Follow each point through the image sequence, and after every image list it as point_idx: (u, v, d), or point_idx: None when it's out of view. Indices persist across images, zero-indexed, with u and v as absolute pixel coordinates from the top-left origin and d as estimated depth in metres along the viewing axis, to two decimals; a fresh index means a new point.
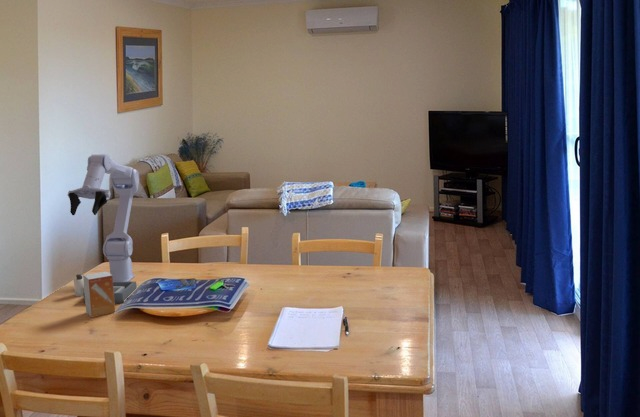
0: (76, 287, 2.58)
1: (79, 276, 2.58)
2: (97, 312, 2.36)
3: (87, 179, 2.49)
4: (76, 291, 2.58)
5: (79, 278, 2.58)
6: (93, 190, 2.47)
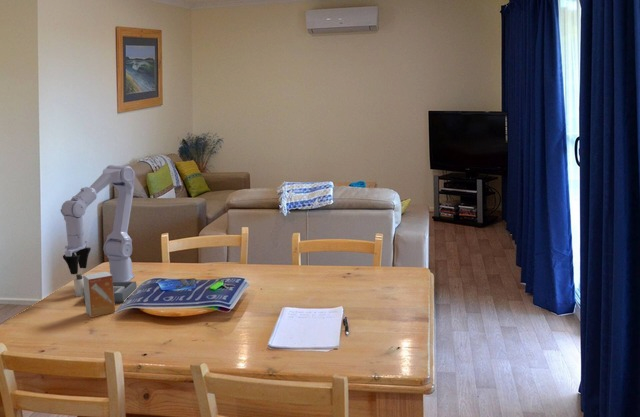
0: (76, 287, 2.58)
1: (79, 276, 2.58)
2: (97, 312, 2.36)
3: None
4: (76, 291, 2.58)
5: (79, 278, 2.58)
6: None
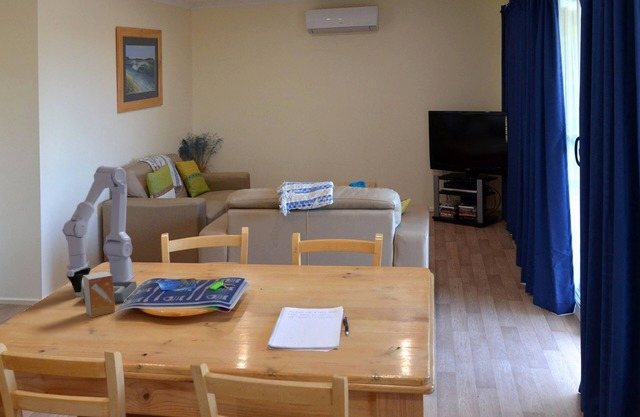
0: None
1: None
2: (97, 312, 2.36)
3: None
4: None
5: None
6: None
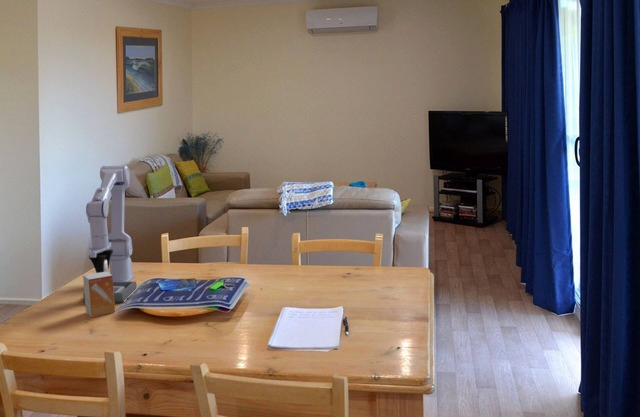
0: None
1: None
2: (97, 312, 2.36)
3: None
4: None
5: None
6: None
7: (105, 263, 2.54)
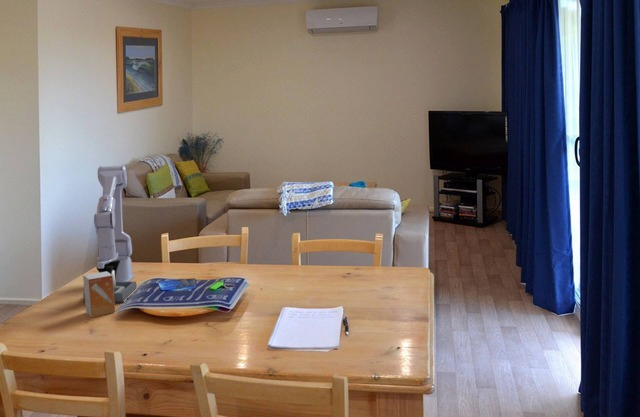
0: None
1: None
2: (97, 312, 2.36)
3: None
4: None
5: None
6: None
7: (112, 274, 2.55)
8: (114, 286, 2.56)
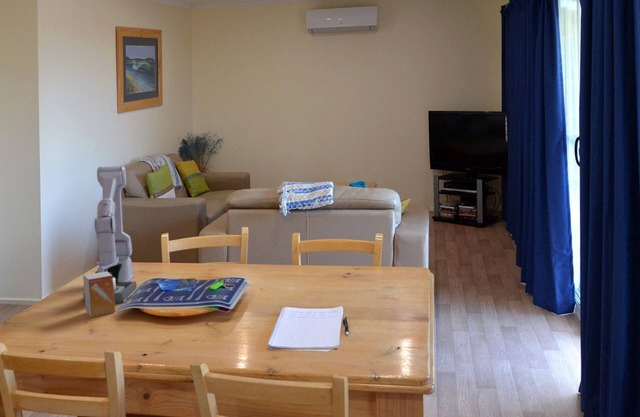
0: None
1: None
2: (97, 312, 2.36)
3: None
4: None
5: None
6: None
7: (113, 281, 2.55)
8: None
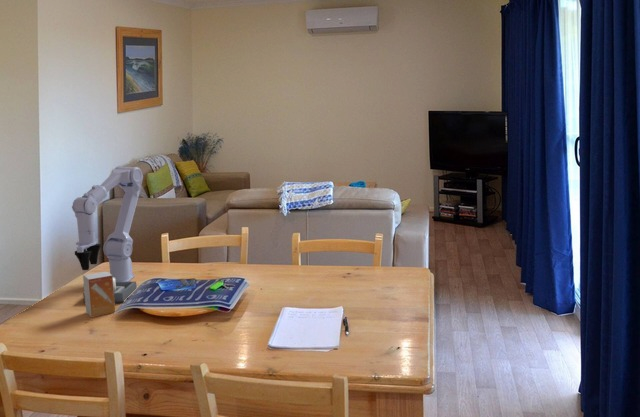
0: None
1: None
2: (97, 312, 2.36)
3: None
4: None
5: None
6: None
7: (113, 281, 2.55)
8: None
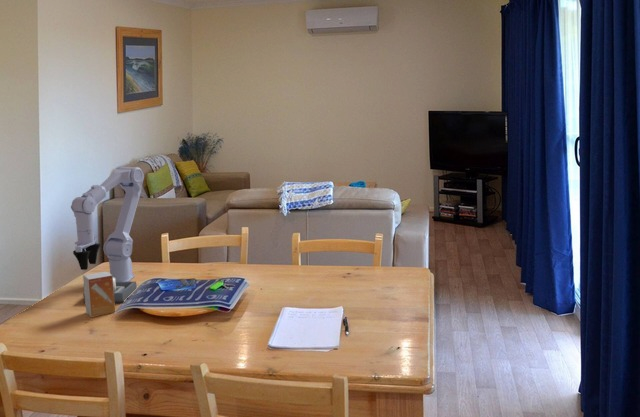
0: None
1: None
2: (97, 312, 2.36)
3: None
4: None
5: None
6: (79, 245, 2.58)
7: (113, 281, 2.55)
8: None
